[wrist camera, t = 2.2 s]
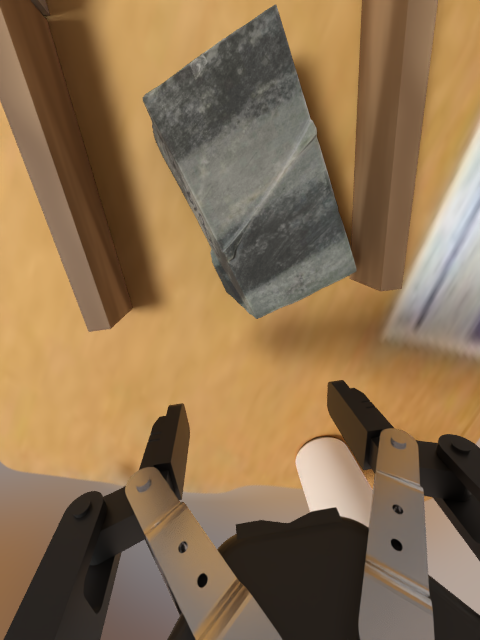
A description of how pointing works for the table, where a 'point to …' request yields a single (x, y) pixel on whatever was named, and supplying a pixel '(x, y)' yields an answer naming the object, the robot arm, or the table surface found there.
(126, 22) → the table surface
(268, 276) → the stone block
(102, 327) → the pair of wooden rails
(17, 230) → the table surface
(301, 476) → the can
